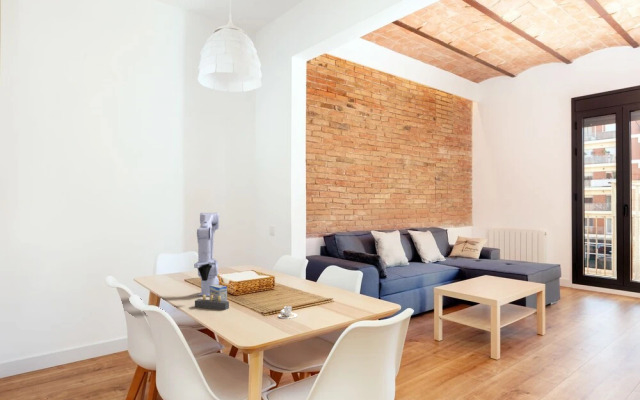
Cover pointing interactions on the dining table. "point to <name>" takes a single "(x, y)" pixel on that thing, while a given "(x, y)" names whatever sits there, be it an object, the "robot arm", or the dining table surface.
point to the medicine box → (218, 292)
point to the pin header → (212, 303)
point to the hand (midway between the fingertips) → (204, 280)
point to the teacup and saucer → (287, 312)
